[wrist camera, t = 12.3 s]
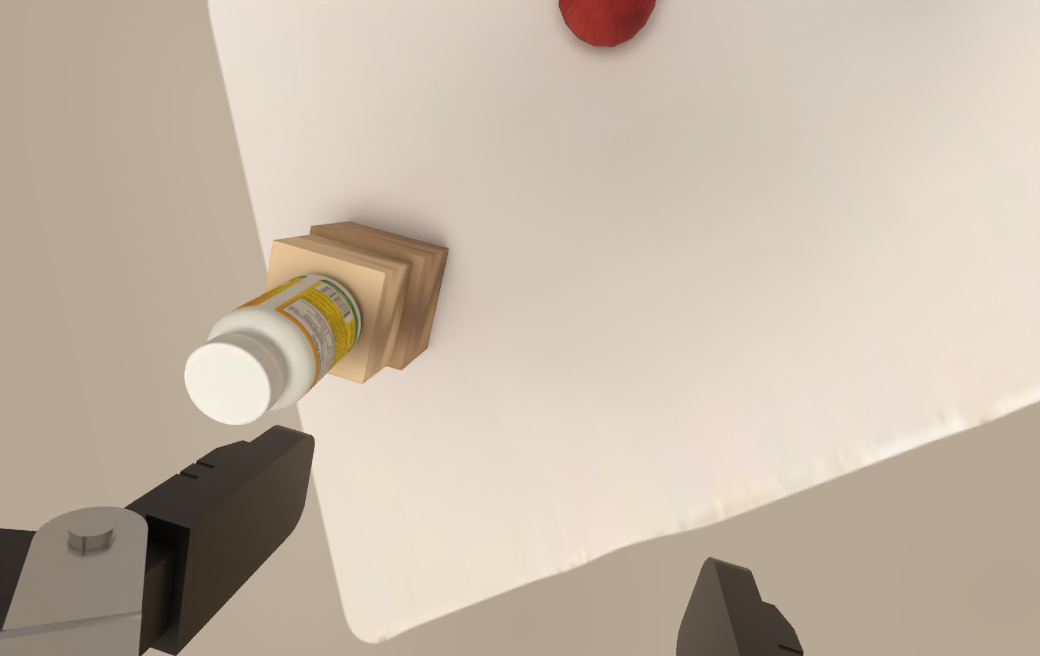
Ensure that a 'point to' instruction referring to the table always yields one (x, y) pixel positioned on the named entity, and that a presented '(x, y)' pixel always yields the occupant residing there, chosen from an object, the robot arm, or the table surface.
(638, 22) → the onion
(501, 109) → the table surface
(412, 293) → the tower base
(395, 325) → the tower top
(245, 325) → the supplement bottle
